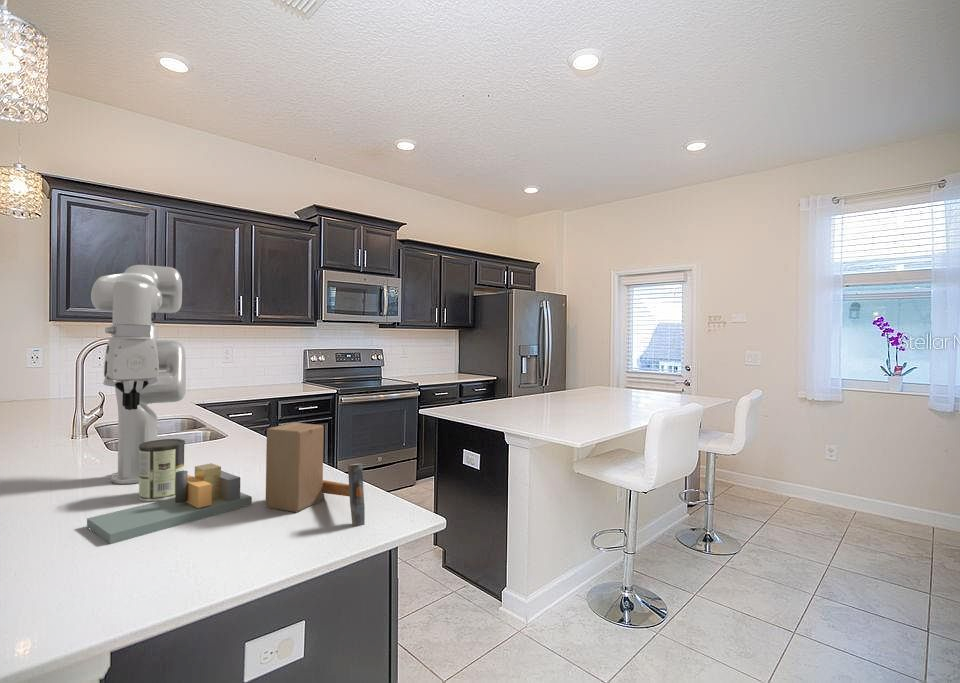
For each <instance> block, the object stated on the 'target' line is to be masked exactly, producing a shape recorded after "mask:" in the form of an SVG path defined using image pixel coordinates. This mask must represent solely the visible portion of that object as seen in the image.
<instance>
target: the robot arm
mask: <svg viewBox="0 0 960 683" xmlns="http://www.w3.org/2000/svg"><path fill="white" fill-rule="evenodd" d="M90 292H91V294H90V300H91V303H92V305H93V307H94V308H95V309H96V310H98V311H100V312H107V313H108V312H109V313H112V324H111V326H109V327H105V328H104V332H105V334H111V337H112V338H108V341H107V345H106V350H105V355H104V364H103V376H104V380H103V383H102V384H103V385H104V386H106V387H107V386H108V387H114V389H115V390H114V391H115V396H116V404H117V412H118V413H117V419H118V420H117V421H118V422H117V425H118V428H117V431H118V432H117V442H118V443H117V473H115V474H113V475H111V477H110V482H111V483H113V484H119V485H121V484H122V485H123V484H124V485H126V484H127V485H128V484H129V485H130V484H136V483H137V484H139V445H140V444H141V443H144V442H148V441H154V440H158V423H159V422H158V416H157V414H156V413H155V412H154V410H152V408H150V407H149V406H148V405H150V404H151V405H152V404H163V403H166V404H167V403H175V402H176V403H177V402H180V401H182V400H183V399H184V397H185V396H186V391H187V390H186V389H187V388H186V387H187V380H186V379H187V377H186V376H187V373H186V366H187V365H186V350H185V348H184V347H185V346H183V344H182V343H181V342H179V341H177V340H159V339H158V333H159V330H158V327H157V326H156V324H155V323H154V322H153V321H152V313H154V314H155V313H156V314H157V313H158V314H159V313H161V314H175V313H177V312H179V311H180V309H181V307H182V304H183V280H182V277H181V273H180V272H179V270H177V269H176V268H174V267H172V266H161V265H160V266H159V265H148V264H135V265H134V264H133V265H131V266H129V267H127V268H126V269H125V270H124V272H121V273H115V274H106V275H102V276H99V277H98V278H97V279H96V280H95V282H94V283H93V286H92V288H91V291H90Z"/></svg>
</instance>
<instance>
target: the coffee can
mask: <svg viewBox="0 0 960 683" xmlns="http://www.w3.org/2000/svg"><path fill="white" fill-rule="evenodd" d="M185 444H186V440H185V439H180V438H166V439H165V438H163V439H157V440H154V441H148V442H144V443H141V444H140V445H139V483H138V500H139V501H143V502H158V501H162V500H167V499H171V498H175V491H176V472H178V471H185Z"/></svg>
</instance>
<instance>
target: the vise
mask: <svg viewBox="0 0 960 683" xmlns="http://www.w3.org/2000/svg"><path fill="white" fill-rule="evenodd" d="M252 497H253V496H251V495H248V494H247V493H244V492H241V477H240V476H237V475H235V474H231V473H229V472H227V471H224V470H221V498H220V499H216V500H212V501H211V505H208V506H205V507H201V508H197V507H195V506H193V505H190V504H188V503H186V502H182V503H176V502H175V498H171V499H167V500H162V501H153V502H151V503H150V502H149V503H147V504H142V505H138V506H134V507H130V508H129V507H128V508H124V509H121V510H120V509H119V510H116V511H113V512H108V513H107V512H106V513H103V514H101V515H100V514H99V515H95V516H91V517H86V528H87V527H88V528H87V529H89V528H90V529H91V530H92V532H93V533H94V532H95V533H96V534H95V533H94V534H95V535H97V536H98V535H99V537H100V538H101V539H102V540H104V541H105V542H106V543H108V544H109V545H112V544H115V543H119V542H123V541H127V540H131V539H133V538H137V537H140V536H144V535H147V534H152V533H155V532H157V531H162V530H165V529H166V530H167V529H169V528H172V527H176V526H179V525H183V524H187V523H190V522H194V521H197V520H201V519H205V518H209V517H213V516H216V515H219V514H222V513H225V512H230V511H234V510H236V509H240V508H244V507H247V506H251V505H252V504H253V498H252ZM90 529H89V530H90ZM91 530H90V531H91Z"/></svg>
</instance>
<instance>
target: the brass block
mask: <svg viewBox="0 0 960 683" xmlns="http://www.w3.org/2000/svg"><path fill="white" fill-rule="evenodd" d="M221 471H222V466H220V465H218V464H214V463H212V462H211V463H206V464H201V465H195V466H194V477H195V478H198V479H200V480H203V481H205V482H208V483H210V484H212V499H211V501H212V500H216V499H220V498H221Z"/></svg>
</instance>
